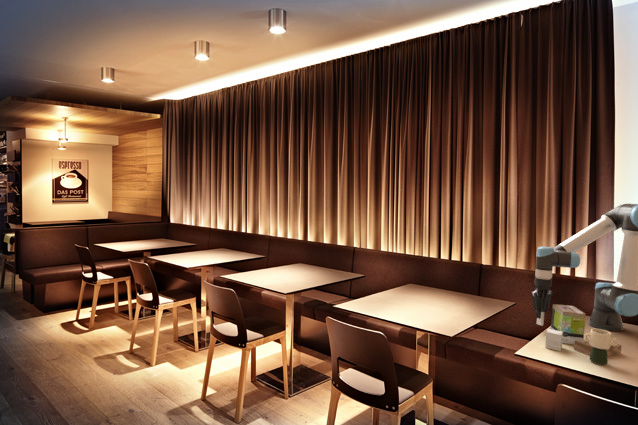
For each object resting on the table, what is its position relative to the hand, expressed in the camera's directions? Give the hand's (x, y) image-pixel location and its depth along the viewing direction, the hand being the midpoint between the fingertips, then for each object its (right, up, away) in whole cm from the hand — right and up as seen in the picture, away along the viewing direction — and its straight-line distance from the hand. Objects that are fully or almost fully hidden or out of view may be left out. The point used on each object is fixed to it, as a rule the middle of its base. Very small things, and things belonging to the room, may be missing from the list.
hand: (539, 324), depth 220 cm
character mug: (+3, -5, -42) cm, 42 cm away
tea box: (+6, -4, -13) cm, 15 cm away
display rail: (+10, -4, -29) cm, 31 cm away
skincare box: (-7, -4, -26) cm, 27 cm away
